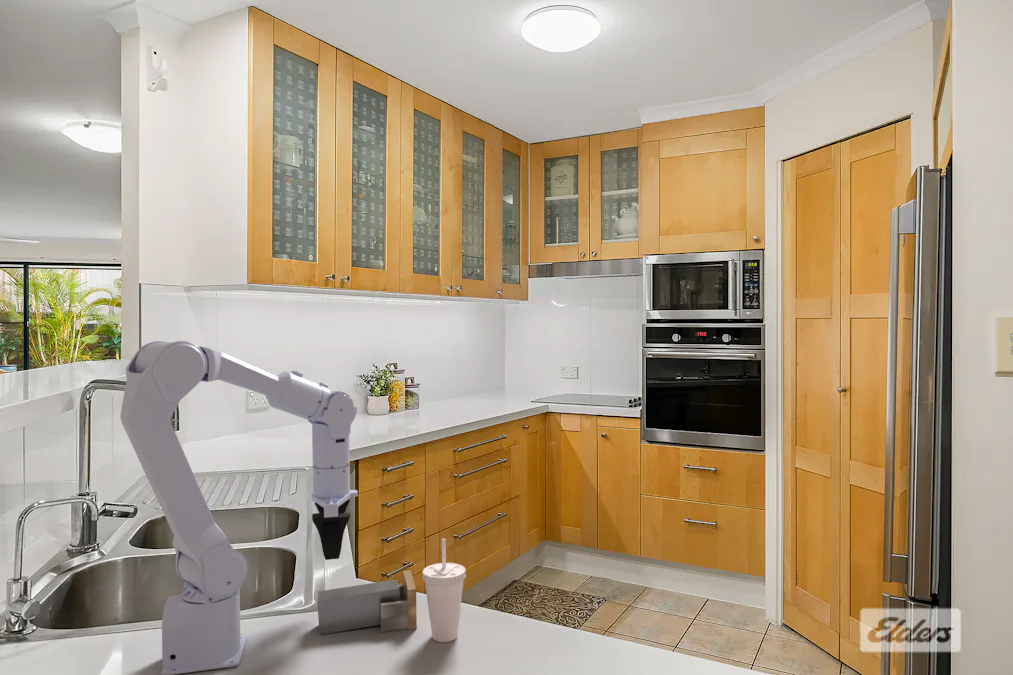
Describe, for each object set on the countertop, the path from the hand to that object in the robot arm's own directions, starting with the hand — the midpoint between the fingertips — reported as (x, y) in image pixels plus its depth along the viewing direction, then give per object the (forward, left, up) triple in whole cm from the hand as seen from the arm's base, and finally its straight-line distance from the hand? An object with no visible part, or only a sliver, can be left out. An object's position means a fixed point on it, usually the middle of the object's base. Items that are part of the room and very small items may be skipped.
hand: (332, 550), depth 101 cm
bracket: (+9, -6, -10) cm, 14 cm away
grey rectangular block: (+4, -6, -10) cm, 12 cm away
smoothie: (+16, -13, -10) cm, 23 cm away
